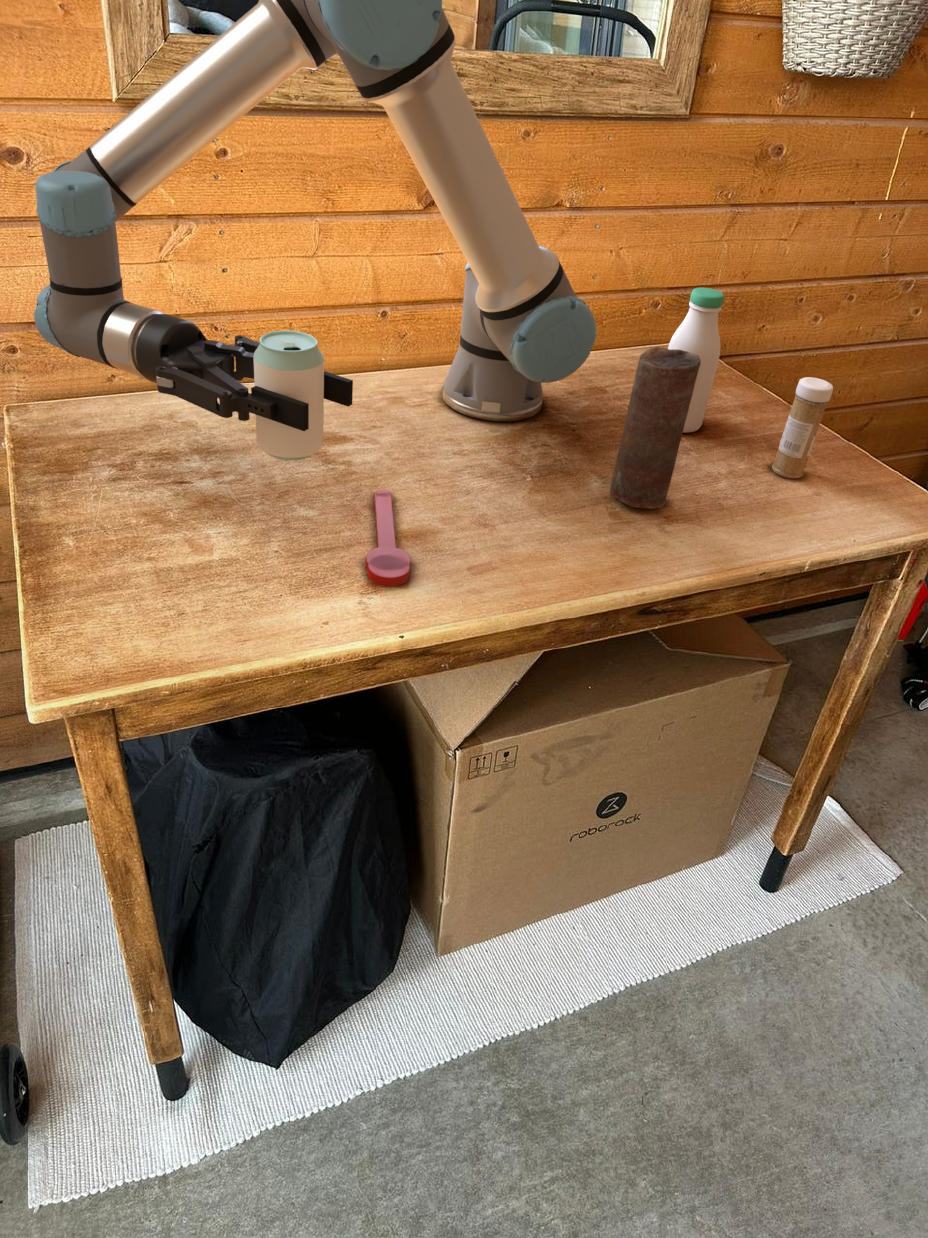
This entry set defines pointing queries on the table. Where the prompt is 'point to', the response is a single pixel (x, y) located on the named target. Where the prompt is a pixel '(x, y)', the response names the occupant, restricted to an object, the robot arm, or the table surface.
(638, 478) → the candle
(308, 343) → the can
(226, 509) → the table surface
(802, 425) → the spice jar
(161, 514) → the table surface
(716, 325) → the milk bottle
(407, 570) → the spoon
